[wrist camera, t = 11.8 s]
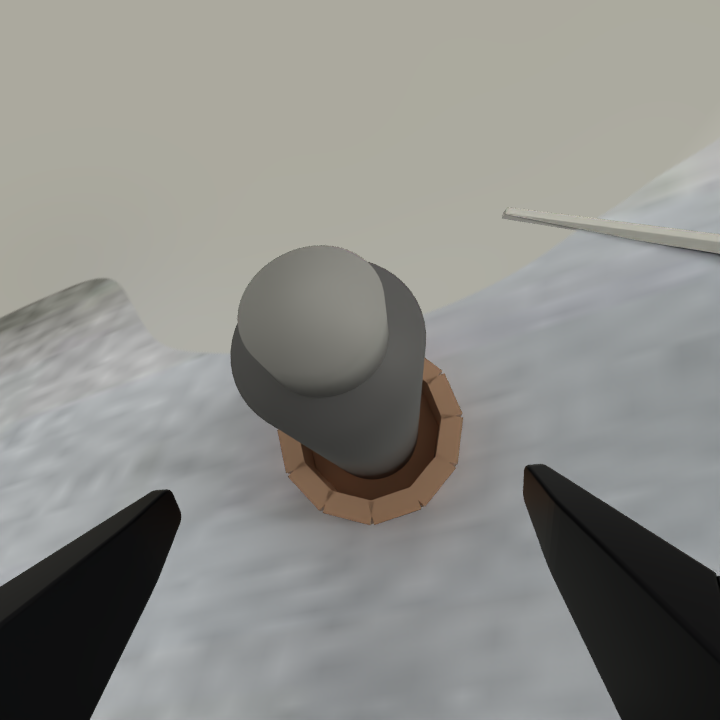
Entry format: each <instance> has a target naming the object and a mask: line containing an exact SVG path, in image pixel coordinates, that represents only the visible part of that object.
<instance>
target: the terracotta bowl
mask: <svg viewBox="0 0 720 720" xmlns="http://www.w3.org/2000/svg"><path fill="white" fill-rule="evenodd" d="M441 373H442V370H441V369H439V368H438V367H437V366H435V365H434V364H433V363H431V362H430V361H428V360H427V359H426V358H424V369H423V381H422V392H421V403H420V415H419V426H418V437H417V444H416V447H415V450H414V452H413V455H412V456H411V458H410V460H409V461H408V462H407V463H406V465H405V466H404V467H403V468H401V469H400V470H399V471H398V472H396V473H394V474H392V475H390V476H388V477H385V478H381V479H363V478H359V477H356V476H354V475H352V474H350V473H348V472H347V471H345V470H343V469H342V468H340V467H338V466H337V465H335V464H334V463H332V462H330V461H329V460H327V459H326V458H324V457H322V456H321V455H319V454H318V453H316V452H314V451H313V450H311V449H309V448H308V447H306V446H305V445H303V444H301V443H300V442H298V441H297V440H295V439H293V438H292V437H290V436H289V435H287V434H285V433H284V432H282V431H280V430H278V435H279V440H280V445H281V450H282V455H283V460H284V465H285V470H286V473H288V474H290V475H289V476H288V477H289V478H290V479H291V480H292V482H293V483H294V484H295V485H296V486H297V487H298V488H299V489H300V490H301V491H302V492H303V493H304V495H305V496H306V497H307V498H308V499H309V500H310V501H311V502H312V503H313V504H314V505H315V507H316V508H317V509H318V510H319V511H323V513H325V514H329V515H333V516H337V517H341V518H345V519H348V520H352V521H356V522H360V523H364V524H368V525H371V524H374V525H376V524H379V523H381V522H384V521H387V520H390V519H393V518H396V517H399V516H402V515H405V514H408V513H411V512H414V511H417V510H420V509H421V506H422V507H425V506H426V505H427V503H428V502H429V501H430V500H431V498H432V497H433V496H434V495H435V493H436V492H437V491H438V490H439V488H440V487H441V486H442V485H443V483H444V482H445V481H446V480H447V478H448V477H449V476H450V475H451V473H452V472H453V471H454V470H455V466H456V465H457V464H458V456H459V447H460V439H461V430H462V422H463V417H461V415H462V411H461V409H460V407H459V405H458V403H457V400H456V398H455V396H454V394H453V391H452V389H451V387H450V385H449V382H448V380H447V378H446V376H445V374H442V375H441ZM420 505H421V506H420Z"/></svg>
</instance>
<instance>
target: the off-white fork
mask: <svg viewBox="0 0 720 720" xmlns="http://www.w3.org/2000/svg"><path fill="white" fill-rule="evenodd" d="M502 219H508V220H514V221H520V222H527V223H533V224H539V225H545V226H551V227H557V228H564V229H570V230H576V231H577V230H579V229H583V230H588V231H593V232H598V233H603V234H608V235H613V236H618V237H623V238H628V239H633V240H638V241H644V242H651V243H657V244H663V245H669V246H675V247H682V248H688V249H694V250H700V251H706V252H712V253H718V254H720V234H712V233H704V232H696V231H689V230H681V229H673V228H665V227H657V226H650V225H642V224H634V223H626V222H619V221H611V220H603V219H595V218H587V217H580V216H572V215H564V214H556V213H548V212H541V211H532V210H525V209H517V208H507V209H506V210H505V211H504V212H503V215H502Z"/></svg>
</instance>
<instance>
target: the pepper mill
mask: <svg viewBox="0 0 720 720" xmlns="http://www.w3.org/2000/svg"><path fill="white" fill-rule="evenodd" d="M425 347H426V330H425V322H424V318H423V315H422V311H421V309H420V307H419V305H418V302H417V300H416V298H415V297H414V296H413V294H412V292H411V291H410V290H409V289H408V287H407V286H406V285H405V284H404V283H403V282H402V281H401V280H400V279H399V278H397V277H396V276H395V275H394V274H392V273H390V272H389V271H387V270H386V269H384V268H381V267H380V266H377V265H376V264H373V263H370V262H367V261H365V260H364V259H363V258H362V257H360V256H359V255H357V254H355V253H353V252H351V251H349V250H346V249H343V248H339V247H334V246H325V245H323V246H322V245H321V246H309V247H303V248H299V249H296V250H293V251H290V252H288V253H285V254H283V255H281V256H279V257H277V258H276V259H274V260H273V261H271V262H270V263H268V264H267V265H266V266H264V267H263V268H262V269H261V270H260V271H259V272H258V273H257V274H256V275H255V276H254V278H253V279H252V280H251V282H250V283H249V284H248V286H247V288H246V290H245V291H244V294H243V296H242V299H241V301H240V305H239V309H238V323H237V326H236V328H235V331H234V335H233V339H232V345H231V367H232V374H233V377H234V380H235V384H236V386H237V388H238V390H239V392H240V394H241V396H242V398H243V399H244V400H245V402H246V403H247V405H248V406H249V407H250V408H251V409H252V410H253V411H254V412H255V413H256V414H257V415H258V416H259V417H261V418H262V419H263V420H265V421H266V422H268V423H269V424H271V425H272V426H274V427H276V428H277V429H279V430H280V431H282V432H284V433H285V434H287V435H289V436H290V437H292V438H293V439H295V440H297V441H298V442H300V443H301V444H303V445H305V446H306V447H308V448H309V449H311V450H313V451H314V452H316V453H318V454H319V455H321V456H322V457H324V458H326V459H327V460H329V461H330V462H332V463H334V464H335V465H337V466H338V467H340V468H342V469H343V470H345V471H347V472H348V473H350V474H352V475H354V476H356V477H359V478H363V479H381V478H385V477H388V476H390V475H392V474H394V473H396V472H398V471H399V470H400V469H401V468H403V467H404V466H405V465H406V463H407V462H408V461H409V460H410V458H411V456H412V455H413V452H414V450H415V447H416V444H417V437H418V426H419V415H420V403H421V392H422V381H423V369H424V358H425Z"/></svg>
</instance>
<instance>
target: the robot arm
mask: <svg viewBox="0 0 720 720" xmlns="http://www.w3.org/2000/svg"><path fill="white" fill-rule="evenodd" d="M523 496H524V501H525V504H526V507H527V510H528V512H529V515H530V518H531V521H532V524H533V526H534V529H535V532H536V535H537V537H538V540H539V543H540V546H541V549H542V551H543V554H544V557H545V559H546V562H547V565H548V567H549V569H550V572H551V574H552V576H553V578H554V580H555V582H556V585H557V587H558V589H559V591H560V593H561V595H562V597H563V599H564V601H565V603H566V605H567V607H568V609H569V612H570V614H571V616H572V618H573V620H574V622H575V624H576V626H577V628H578V630H579V632H580V634H581V637H582V639H583V641H584V643H585V645H586V647H587V649H588V651H589V653H590V655H591V657H592V659H593V661H594V664H595V666H596V668H597V670H598V672H599V674H600V676H601V678H602V680H603V682H604V684H605V686H606V688H607V691H608V693H609V695H610V697H611V699H612V701H613V703H614V705H615V707H616V709H617V711H618V713H619V715H620V718H621V720H720V576H716V573H715V572H714V571H712V570H710V569H709V568H707V567H706V566H704V565H703V564H701V563H699V562H698V561H696V560H695V559H693V558H692V557H690V556H688V555H687V554H685V553H684V552H682V551H680V550H679V549H677V548H676V547H674V546H673V545H671V544H669V543H668V542H666V541H665V540H663V539H662V538H660V537H658V536H657V535H655V534H654V533H652V532H651V531H649V530H647V529H646V528H644V527H643V526H641V525H639V524H638V523H636V522H635V521H633V520H632V519H630V518H628V517H627V516H625V515H624V514H622V513H621V512H619V511H617V510H616V509H614V508H613V507H611V506H610V505H608V504H606V503H605V502H603V501H602V500H600V499H598V498H597V497H595V496H594V495H592V494H591V493H589V492H587V491H586V490H584V489H583V488H581V487H580V486H578V485H576V484H575V483H573V482H572V481H570V480H569V479H567V478H565V477H564V476H562V475H561V474H559V473H557V472H556V471H554V470H553V469H551V468H550V467H548V466H546V465H544V464H533V465H527V466H526V467H525V469H524V484H523ZM180 522H181V512H180V509H179V507H178V505H177V502H176V500H175V497H174V495H173V493H172V492H171V491H170V490H167V489H166V490H155V491H152V492H150V493H149V494H147V495H145V496H144V497H142V498H141V499H139V500H137V501H136V502H134V503H133V504H131V505H129V506H128V507H126V508H125V509H123V510H122V511H120V512H118V513H117V514H115V515H114V516H112V517H110V518H109V519H107V520H106V521H104V522H102V523H101V524H99V525H98V526H96V527H95V528H93V529H91V530H90V531H88V532H87V533H85V534H83V535H82V536H80V537H79V538H77V539H75V540H74V541H72V542H71V543H69V544H67V545H66V546H64V547H63V548H61V549H60V550H58V551H56V552H55V553H53V554H52V555H50V556H48V557H47V558H45V559H44V560H42V561H40V562H39V563H37V564H36V565H34V566H33V567H31V568H29V569H28V570H26V571H25V572H23V573H21V574H20V575H18V576H17V577H15V578H13V579H12V580H10V581H9V582H7V583H6V584H4V585H2V586H1V587H0V720H90V718H91V716H92V714H93V712H94V710H95V708H96V706H97V704H98V702H99V700H100V698H101V696H102V694H103V692H104V690H105V687H106V685H107V683H108V681H109V679H110V677H111V675H112V673H113V671H114V669H115V667H116V665H117V663H118V661H119V659H120V657H121V655H122V653H123V651H124V649H125V647H126V645H127V643H128V641H129V639H130V637H131V635H132V632H133V630H134V628H135V626H136V624H137V622H138V620H139V618H140V616H141V614H142V612H143V610H144V608H145V606H146V604H147V602H148V600H149V598H150V596H151V594H152V592H153V589H154V587H155V585H156V583H157V581H158V578H159V576H160V573H161V571H162V568H163V566H164V563H165V561H166V558H167V556H168V553H169V550H170V548H171V545H172V543H173V540H174V538H175V535H176V532H177V530H178V527H179V525H180Z"/></svg>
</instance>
